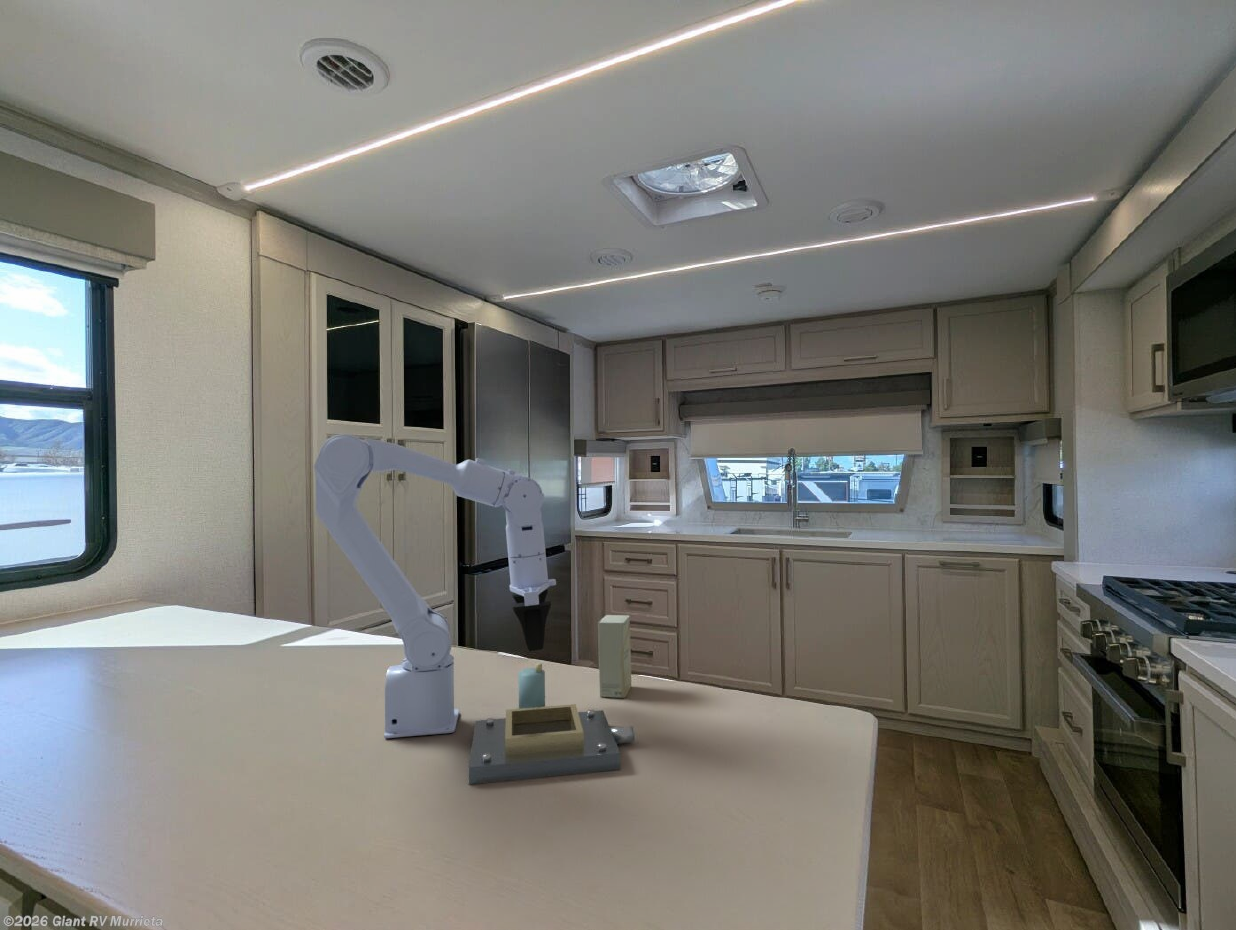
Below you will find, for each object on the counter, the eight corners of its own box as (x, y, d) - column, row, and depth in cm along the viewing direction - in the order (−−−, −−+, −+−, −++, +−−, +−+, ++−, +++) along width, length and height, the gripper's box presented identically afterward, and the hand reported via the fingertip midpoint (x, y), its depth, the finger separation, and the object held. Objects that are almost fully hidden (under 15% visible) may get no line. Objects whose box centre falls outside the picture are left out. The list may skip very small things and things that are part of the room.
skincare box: (625, 699, 98) (623, 623, 98) (598, 697, 99) (597, 622, 99) (631, 685, 104) (630, 614, 104) (606, 684, 105) (605, 613, 105)
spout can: (519, 717, 91) (518, 669, 91) (518, 708, 95) (518, 661, 95) (545, 715, 91) (545, 667, 92) (544, 706, 95) (544, 659, 95)
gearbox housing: (468, 784, 71) (468, 749, 71) (475, 735, 85) (475, 706, 85) (644, 767, 75) (643, 734, 75) (623, 722, 88) (623, 694, 88)
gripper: (556, 557, 87) (564, 652, 87) (550, 546, 101) (557, 627, 101) (506, 563, 86) (515, 659, 86) (507, 550, 100) (514, 632, 100)
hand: (534, 642), depth 93 cm, fingers open, 7 cm apart
